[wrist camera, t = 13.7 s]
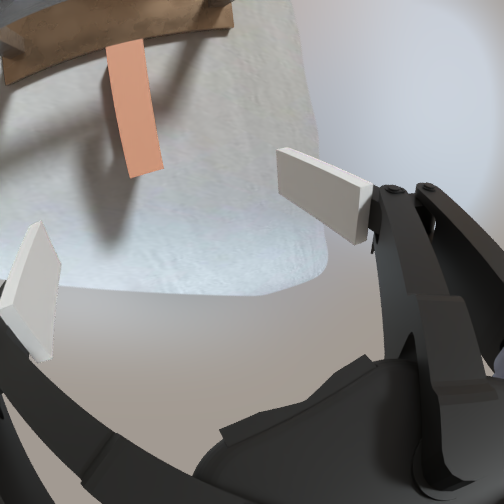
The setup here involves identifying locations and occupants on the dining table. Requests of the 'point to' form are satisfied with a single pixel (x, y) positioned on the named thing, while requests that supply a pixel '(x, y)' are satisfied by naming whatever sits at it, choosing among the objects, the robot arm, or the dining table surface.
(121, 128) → the c link
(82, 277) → the dining table surface
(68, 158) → the dining table surface
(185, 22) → the stand
